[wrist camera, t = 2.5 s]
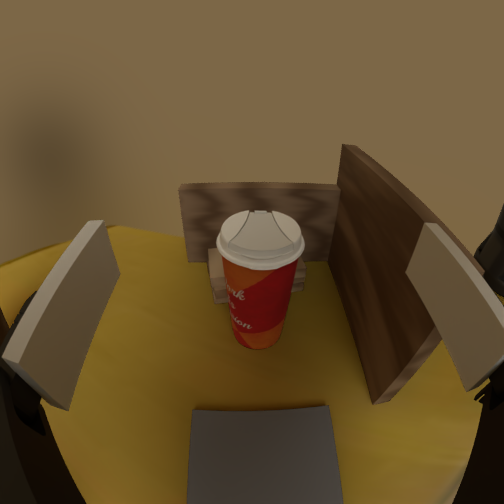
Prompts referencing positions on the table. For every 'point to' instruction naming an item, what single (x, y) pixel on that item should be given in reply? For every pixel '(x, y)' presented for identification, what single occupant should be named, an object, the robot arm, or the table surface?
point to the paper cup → (259, 273)
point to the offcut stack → (219, 279)
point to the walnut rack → (344, 253)
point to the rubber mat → (263, 457)
